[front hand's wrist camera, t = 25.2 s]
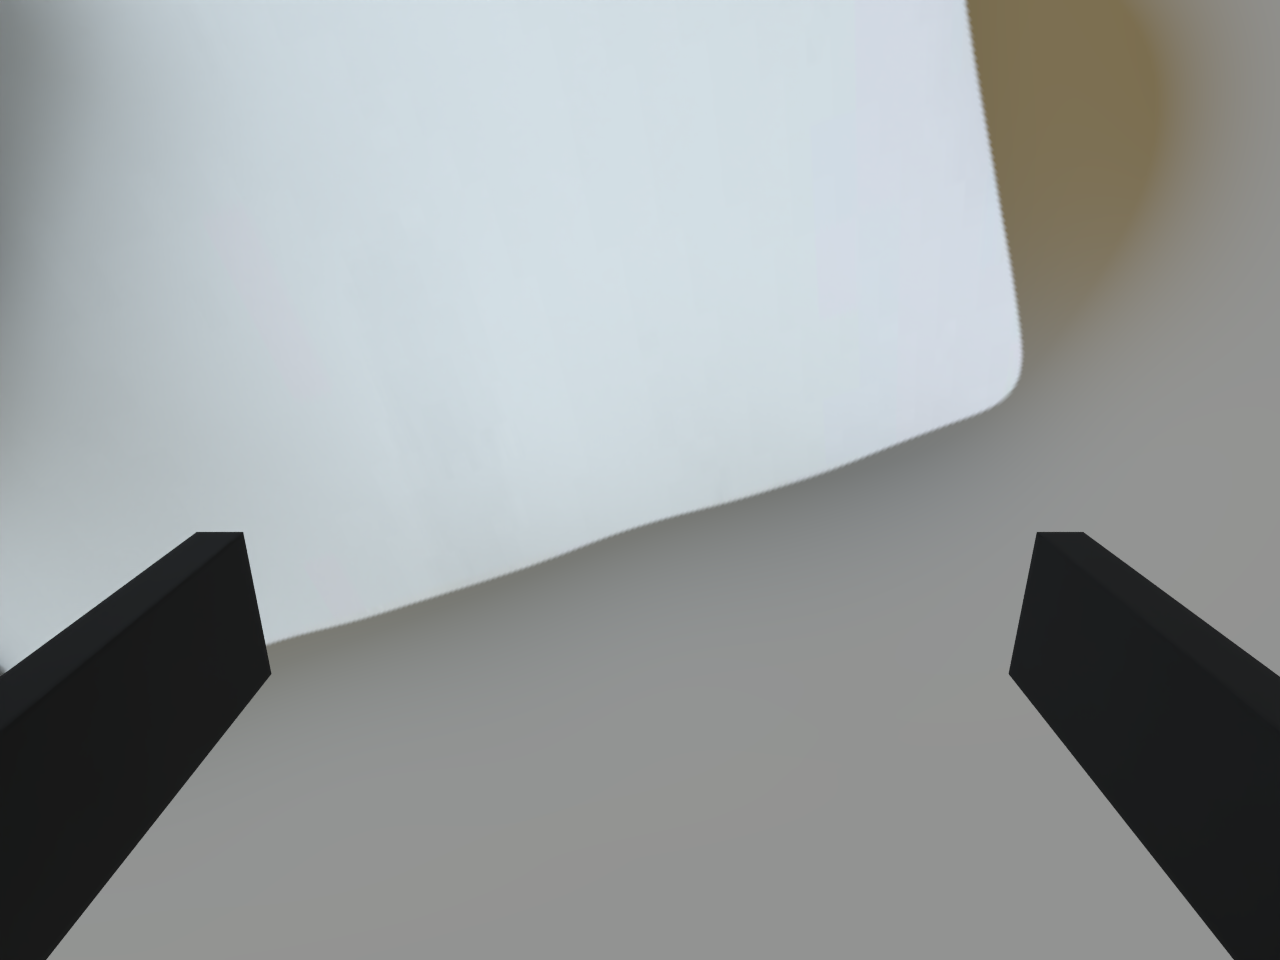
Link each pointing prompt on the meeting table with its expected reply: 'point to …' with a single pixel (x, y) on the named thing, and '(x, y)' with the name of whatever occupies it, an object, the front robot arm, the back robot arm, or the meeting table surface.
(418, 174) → the meeting table surface
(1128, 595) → the front robot arm
